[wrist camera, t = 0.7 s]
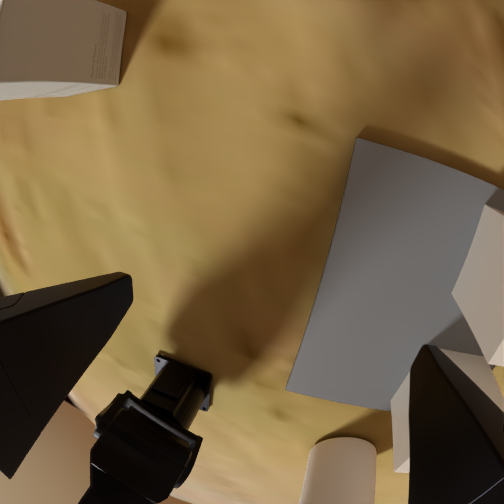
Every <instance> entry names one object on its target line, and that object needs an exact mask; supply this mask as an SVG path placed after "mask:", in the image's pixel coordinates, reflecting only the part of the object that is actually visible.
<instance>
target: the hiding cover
mask: <svg viewBox="0 0 504 504" xmlns="http://www.w3.org/2000/svg"><path fill="white" fill-rule="evenodd" d="M451 294H452V295H453V297H454V299H455V301H456V302H457V304H458V306H459V308H460V309H461V311H462V313H463V315H464V317H465V319H466V321H467V322H468V324H469V326H470V328H471V330H472V332H473V334H474V336H475V338H476V340H477V342H478V344H479V346H480V348H481V350H482V353H483V355H484V357H485V359H486V361H487V363H488V364H492V365H499V366H504V212H502V211H500V210H497V209H495V208H493V207H490V206H488V205H484V208H483V211H482V215H481V218H480V221H479V224H478V227H477V230H476V233H475V236H474V239H473V242H472V244H471V247H470V250H469V252H468V255H467V258H466V260H465V263H464V265H463V268H462V270H461V272H460V275H459V277H458V280H457V282H456V284H455V286H454V289H453V291H452V293H451Z"/></svg>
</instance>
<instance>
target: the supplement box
mask: <svg viewBox="0 0 504 504" xmlns="http://www.w3.org/2000/svg"><path fill="white" fill-rule="evenodd" d="M126 15H127V12H126V11H124V10H122V9H119V8H116V7H114V6H111V5H108V4H105V3H103V2H100V1H97V0H0V100H10V99H22V98H36V97H66V96H72V95H76V94H81V93H85V92H90V91H95V90H100V89H105V88H111V87H117V86H118V85H119V74H120V64H121V55H122V46H123V38H124V31H125V24H126Z"/></svg>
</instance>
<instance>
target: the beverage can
mask: <svg viewBox="0 0 504 504" xmlns="http://www.w3.org/2000/svg"><path fill="white" fill-rule="evenodd" d="M375 484H376V448H375V447H374V446H373V445H372V444H371V443H370V442H368V441H366V440H363V439H359V438H352V437H339V438H332V439H327V440H324V441H322V442H319V443H318V444H316V445H315V446H313V447H312V449H311V450H310V453H309V458H308V463H307V468H306V473H305V478H304V482H303V487H302V492H301V496H300V501H299V504H374V501H375Z"/></svg>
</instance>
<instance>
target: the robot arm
mask: <svg viewBox="0 0 504 504" xmlns="http://www.w3.org/2000/svg"><path fill="white" fill-rule="evenodd" d="M132 302H133V286H132V278H131V276H130V275H129V274H126V273H123V272H115V273H111V274H106V275H101V276H97V277H92V278H87V279H83V280H78V281H74V282H69V283H64V284H60V285H55V286H51V287H46V288H42V289H37V290H33V291H28V292H25V293H19V294H14V295H10V296H5V297H0V471H1V472H2V473H4V475H6V476H7V477H8V478H9V479H11V478H12V477H13V475H14V474H15V472H16V471H17V469H18V467H19V466H20V464H21V463H22V461H23V460H24V458H25V456H26V454H28V452H29V450H30V449H31V447H32V446H33V444H34V443H35V441H36V440H37V438H38V437H39V435H40V434H41V432H42V431H43V429H44V427H45V426H46V425H47V423H48V422H49V421H50V419H51V418H52V416H53V415H54V413H55V412H56V411H57V409H58V408H59V406H60V405H61V403H62V402H63V401H64V399H65V398H66V397H67V395H68V394H69V392H70V391H71V390H72V388H73V387H74V386H75V384H76V383H77V382H78V380H79V379H80V377H81V376H82V375H83V373H84V372H85V371H86V369H87V368H88V367H89V365H90V364H91V363H92V361H93V360H94V359H95V358H96V356H97V355H98V354H99V352H100V351H101V350H102V348H103V347H104V346H105V345H106V343H107V342H108V340H109V339H110V338H111V336H112V335H113V333H114V332H115V330H116V328H117V327H118V325H119V324H120V322H121V320H122V319H123V317H124V316H125V314H126V312H127V311H128V309H129V308H130V306H131V304H132ZM154 362H155V375H156V377H155V379H154V380H153V381H152V383H151V384H150V386H149V387H148V388H147V390H146V391H145V392H144V394H143V395H142V397H141V398H140V399H139V398H137V397H136V396H134V395H133V394H132V392H130V391H129V390H127V391H126V392H125V393H124V394H120V393H118V394H117V396H116V397H115V398H114V399H113V401H112V402H111V403H110V404H109V405H108V406H107V407H106V408H105V409H104V410H103V411H101V412H100V413H99V414H98V415H97V416H96V418H95V421H96V428H95V432H94V434H93V436H94V437H95V438H96V439H98V440H97V442H96V443H95V444H94V446H93V447H92V449H91V452H90V487H89V488H88V490H87V491H86V493H85V494H84V496H83V497H82V498H81V500H80V501H79V503H78V504H157V503H160V502H162V501H163V500H165V499H167V498H168V496H169V495H170V493H171V491H172V490H173V488H179V487H180V486H181V485H182V484H183V483H184V481H185V480H186V479H187V477H188V476H189V474H190V472H191V470H192V468H193V466H194V463H195V460H196V458H197V455H198V452H199V449H200V446H201V443H202V440H203V438H202V437H200V436H199V435H198V436H197V435H195V434H193V433H192V432H190V431H188V429H189V427H190V426H191V424H192V422H193V420H194V418H195V416H196V414H197V412H198V410H199V409H200V410H202V411H208V409H209V406H210V396H211V387H212V378H213V377H212V375H211V374H210V373H207V372H204V371H202V370H199V369H196V368H193V367H190V366H188V365H185V364H182V363H180V362H177V361H174V360H172V359H169V358H166V357H164V356H161V355H156V356H155V358H154ZM408 416H409V450H410V469H409V499H408V504H504V412H503V411H502V410H501V409H500V408H499V407H498V406H497V405H496V404H495V403H494V402H493V401H492V400H491V399H490V398H489V397H488V396H487V395H486V394H485V393H484V392H483V391H482V390H481V389H480V388H479V387H478V386H477V385H476V384H475V383H474V382H473V381H472V380H471V379H470V378H469V377H468V376H467V375H466V374H465V373H464V372H463V371H462V370H461V369H460V368H459V367H458V366H457V365H456V364H455V363H454V362H453V361H452V360H451V359H450V358H449V357H448V356H447V355H446V354H444V353H443V352H442V351H441V350H440V349H439V348H438V347H437V346H435V345H430V344H424V345H422V347H421V348H420V350H419V352H418V354H417V356H416V358H415V360H414V361H413V363H412V365H411V369H410V389H409V414H408Z"/></svg>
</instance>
